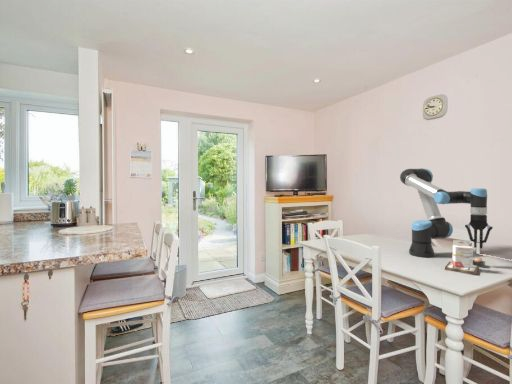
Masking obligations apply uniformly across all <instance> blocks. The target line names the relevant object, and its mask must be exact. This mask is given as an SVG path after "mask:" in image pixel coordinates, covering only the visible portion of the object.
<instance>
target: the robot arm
mask: <svg viewBox="0 0 512 384" xmlns="http://www.w3.org/2000/svg"><path fill="white" fill-rule="evenodd" d="M433 178H434V175H433V173H432V172H431V170H430V169H428V168H407V169H404V170H403V171H401V173H400V175H399V179H400V182H401V183H402V184H403V185H405V186H407V187H412V188H414V189H416V190H417V193H418V195H419V199H420V202H421V205H422V207H423V209H424V210H423V211H424V213H425V216H426V219H425V220H423V219H422V220H416V221H413V222H412V223H411V244H410V246H409V249H408V254H409V255H411V256H414V257H418V258H434V257H435V250H434V247H433V246H432V245H433V244H432V240H438V239H439V240H443V239H444V240H445V239H448V238H450V237H451V236H452V233H453V230H454V229H453V225H452V224H451V223H450V222H449V221H446V219H445V217H444V216H442V214H441V212H440V209H439V207H438V205H448V204H449V205H450V204H452V205H453V204H467V205H468V204H469V205H470V219H469V220H470V221H469V223H467V224H465V225H464V227H465V228H466V229H467V233H468V237H469V241H470V242H473V249H474V248H475V249H476V250H475V251H476V253H475V254H476V255H480V254H481V249H483V245H484V244H485V243H487V241H488V238H489V236H490V232H491V231H492V229H493V228H494V227H493V226H491V225H489V223H488V215H487V214H488V190H487V189H486V188H482V187H481V188H479V187H477V188H476V187H475V188H471V189H470V190H469V191H464V190H456V191H447V190H444V189H443V188H441V187H439V186H436V185H435V184H433V183H432V181H433ZM486 227H487V228H486ZM471 228H472V229H473V234H472V231H471V230H472V229H471ZM485 229H487V230H486V234H485V237H484V236H483V235H484V232H483V231H484V230H485ZM478 231H479V241H478ZM483 238H484V239H483Z"/></svg>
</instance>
